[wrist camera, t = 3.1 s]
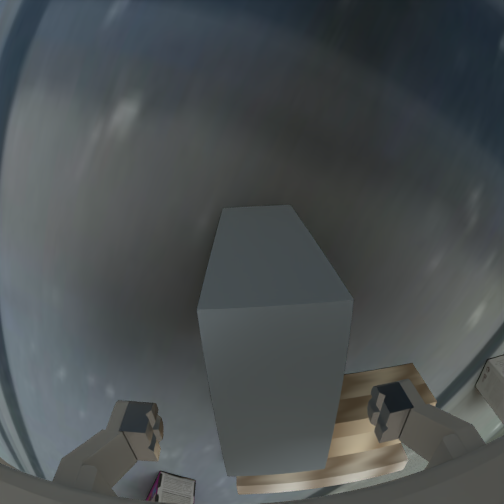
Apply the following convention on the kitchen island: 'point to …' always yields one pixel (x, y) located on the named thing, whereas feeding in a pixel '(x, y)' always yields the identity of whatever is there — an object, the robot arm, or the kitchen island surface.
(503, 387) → the skincare box
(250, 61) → the kitchen island surface
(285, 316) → the box
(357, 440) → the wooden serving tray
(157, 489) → the candy bar box
